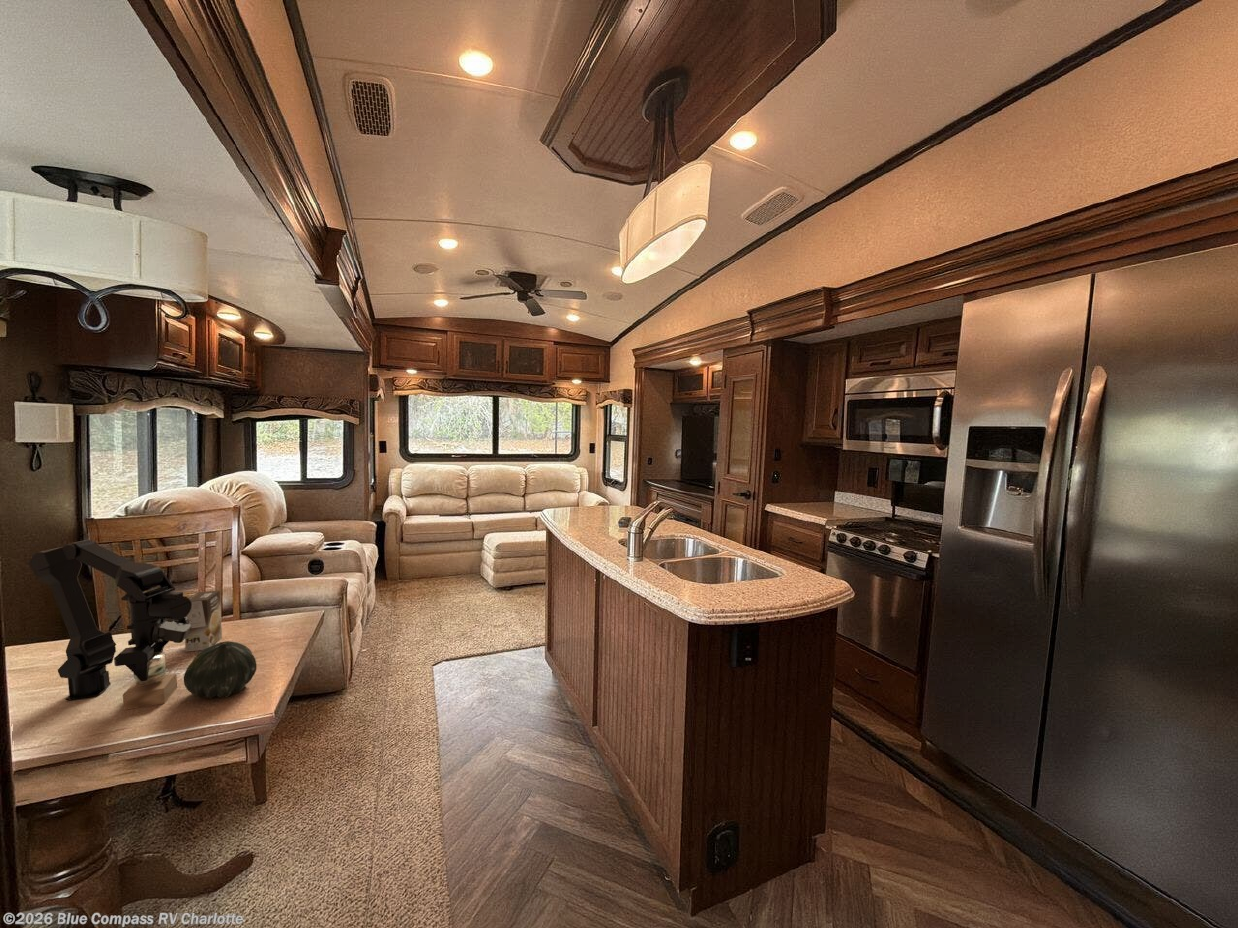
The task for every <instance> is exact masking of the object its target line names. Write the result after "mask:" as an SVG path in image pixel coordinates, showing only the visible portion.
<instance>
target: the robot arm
mask: <svg viewBox="0 0 1238 928" xmlns="http://www.w3.org/2000/svg"><path fill="white" fill-rule="evenodd" d="M83 564H85V565H87V566H88V567H91V568H93V569H95V570H97V571H99V572H101V573H103V574H104V575H107V576H108V577H110V578H112V579H113V580H115V585H116V587H118V588H120V589H121V591H123V592H124V593H126V594H125V595H124V596H122V597H121V598H120V600H121V601H126V602H128V604H129V606H128V607H129V608H128V609H129V619H130V622H129V623H128V624H127V625H126V630H130V635H131V638H130V639H129V640H128V641H127V645H128V646H131V645H132V646H131V647H125V648H124V649H123V650H122V651H120V652H119V653H117V655H116V656H115V653H116V652H117V648H116V646H117V644H116V642H115V640H114V637H113V634H112V633H111V632H110V631H107V632H104V631H102V630H100V629H98V627H97V625H96V621H95V620H94V617H93V614H92V612H91V609H90V607H89V605H88V601H87V599H86V596H85V593H84V591H83V588H82V586H81V583H80V581H79V577H78V576H79V575H80V572H81V569H82V565H83ZM28 566H29V567H30V569H31V571H32V572H33V574H34V577H36V579H37V580H38V581H40V582H43V583H45V584H46V585H47V586H49V587H50V590H51V593H52V594H53V597H54V600H55V603H56V605H57V608H58V610H59V613H60V616H61V617H62V620H63V622H64V625H65V628H66V630H67V633H68V636H69V638H70V639H69V641H68V643H67V645H66V649H65V654H66V660H65V661H64V662H63V663H62V664H61V666H60V667H58V669H57V674H58V676H59V677H60V678H62V679H67V684H68V696H67V697H65V701H66V702H67V701H72V700H80V699H86V698H87V699H88V698H93V697H98V696H100V695H101V694H102V693H103V692H104V691H105V690H106V689H108V687H110V686H111V685H112V683H111V682H110V672H109V670H107V665H111V664H113V662H114V666H115V667H120V666H121V667H122V666H125V667H127V668H128V669H129V670H130V671H131V672H132V673H133V675H134V674H135V675H136V676H137V677H138V678H139V680H140V681H146V680H147V678H148V671H149V663H150V660H151V659H152V658H153V657H154V656H155V655H156V654H153V653H154V652H163V651H164V648H165V646H166V645H167V644H168V643H169V642H173V643H174V644H181V643H183V641H185V638H186V637H187V635H188V632H189V630H190V629H191V624H190V623H189V618H188V617H186V616H187V615H188V614H189V612H190V610H191V607H192V602H191V601H190V600H189V597H187V596H184V593H183V591H176V588H175V586H174V585H173V582H172V581H171V580H170V579H169V578H168V577H167V575H166V574H165V573H164V571H163V570H162V568H161V567H159V566H157V565H154V564H151V563H147V562H135V561H132V560H130V559H128V558H125V557H123V556H122V555H119V554H117V553H115V552H113V551H111V550H109V549H107V548H105V547H103V546H101V545H99V544H98V543H97V542H96V541H95V540H93V539H85V540H84V539H83V540H80V541H75V542H70V543H68V544H67V545H64V546H61V547H56V548H55V547H54V548H51V549H46V550H42V551H37V552H35V553H34V554H33V555H32V556H31V558H30V560H29V562H28ZM174 591H176V592H174ZM167 620H173V621H167ZM133 645H134V646H133ZM113 660H114V661H113Z"/></svg>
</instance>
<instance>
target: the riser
mask: <svg viewBox="0 0 1238 928" xmlns="http://www.w3.org/2000/svg"><path fill="white" fill-rule="evenodd" d="M177 688H178V678H177V673H170V674H166V677H165V678H164V679H162V680H161V681H158V682H156V683H153V684H149V685H142V686H139V685H135V682H133V683H132V684H131V685H130V687H129V688H128V689H126V690H125V692H124V693H123V694H122V703H123V710H124V711H127V710H130V709H131V710H132V709H138V708H144V707H150V706H157V705H162V704H166V702H167V701H168V700H169V698H170V697H171V696H172V695H173V693H175V691H176V690H177Z"/></svg>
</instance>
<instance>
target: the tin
mask: <svg viewBox="0 0 1238 928" xmlns="http://www.w3.org/2000/svg"><path fill="white" fill-rule="evenodd" d="M153 654H156V655H155V656H154V657H153V658H152V659H151V660H150V663H149V671H148V678H147V680H146V681H140V680H139V678H138V677H137V676H136V675H135V674H134V673H133V679H134V680H133V681H134V682H135V685H139V686H142V685H149V684H153V683H156V682H158V681H161V680H162V679H164V678H165V677H166V675H167V666H166V665H167V663H166V656H165V655H166V653H165V652H154V653H153ZM134 682H133V683H134Z"/></svg>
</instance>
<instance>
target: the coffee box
mask: <svg viewBox="0 0 1238 928" xmlns="http://www.w3.org/2000/svg"><path fill="white" fill-rule="evenodd" d="M188 598H189V600H190V601H191V602H192V607H191V610H190V612H189V614H188V615H187V616H186V617H188V618H189V623H190V624H191V629H190V630H189V632H188V635H187V637H186V638H185V639H184V644H185V645H184V647H185V652H195V651H202V650H204V649H206V648H208V647H211V646H213V645H215V644H217V642H218V641H220V640H222V638H223V632H222V631H223V628H222V610H221V608H222V607H221V590H209V591H199V592H196V593H193V595H191V596H189V597H188ZM218 643H219V642H218Z"/></svg>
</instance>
